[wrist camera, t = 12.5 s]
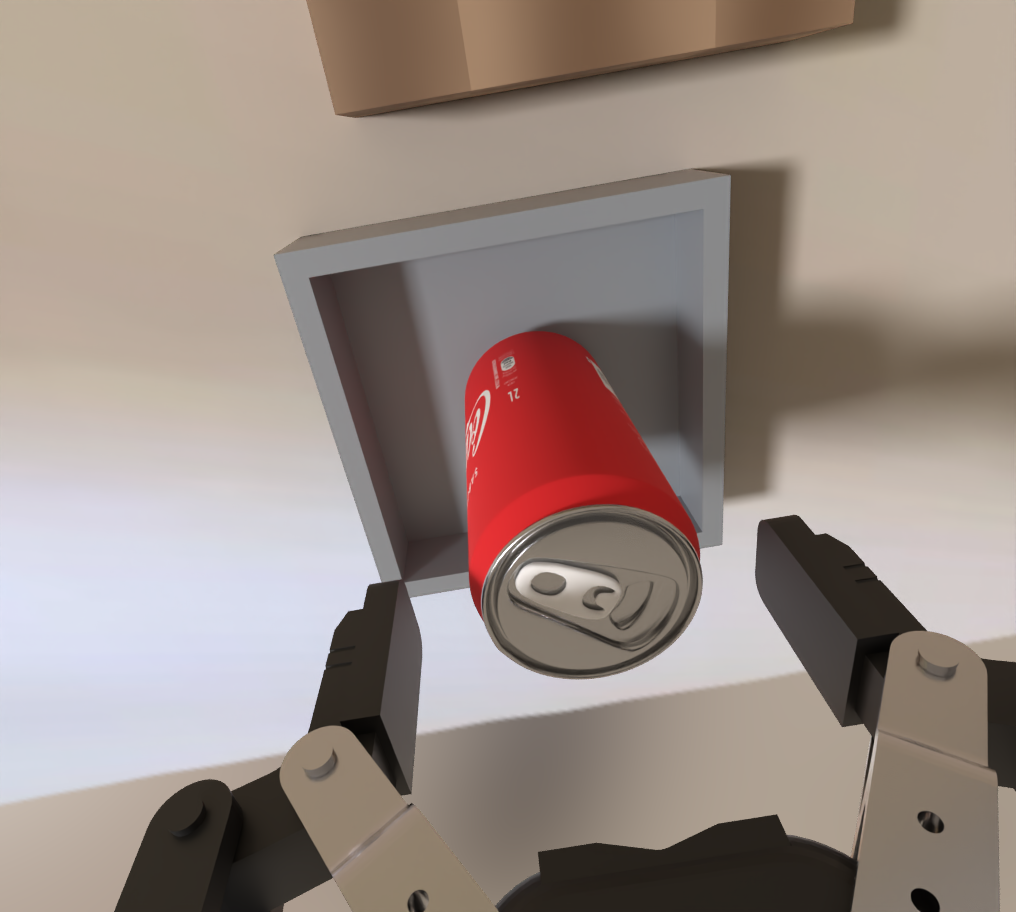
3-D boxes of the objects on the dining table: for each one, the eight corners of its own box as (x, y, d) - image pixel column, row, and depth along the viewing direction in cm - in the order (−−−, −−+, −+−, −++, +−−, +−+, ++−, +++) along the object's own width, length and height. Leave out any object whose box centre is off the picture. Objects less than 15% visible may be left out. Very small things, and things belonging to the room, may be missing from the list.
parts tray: (690, 168, 21) (730, 175, 18) (692, 498, 27) (722, 544, 24) (300, 236, 21) (273, 255, 18) (396, 548, 27) (387, 601, 24)
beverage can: (563, 463, 25) (641, 707, 14) (445, 423, 24) (434, 658, 13) (621, 351, 23) (763, 540, 12) (494, 300, 21) (530, 462, 11)
